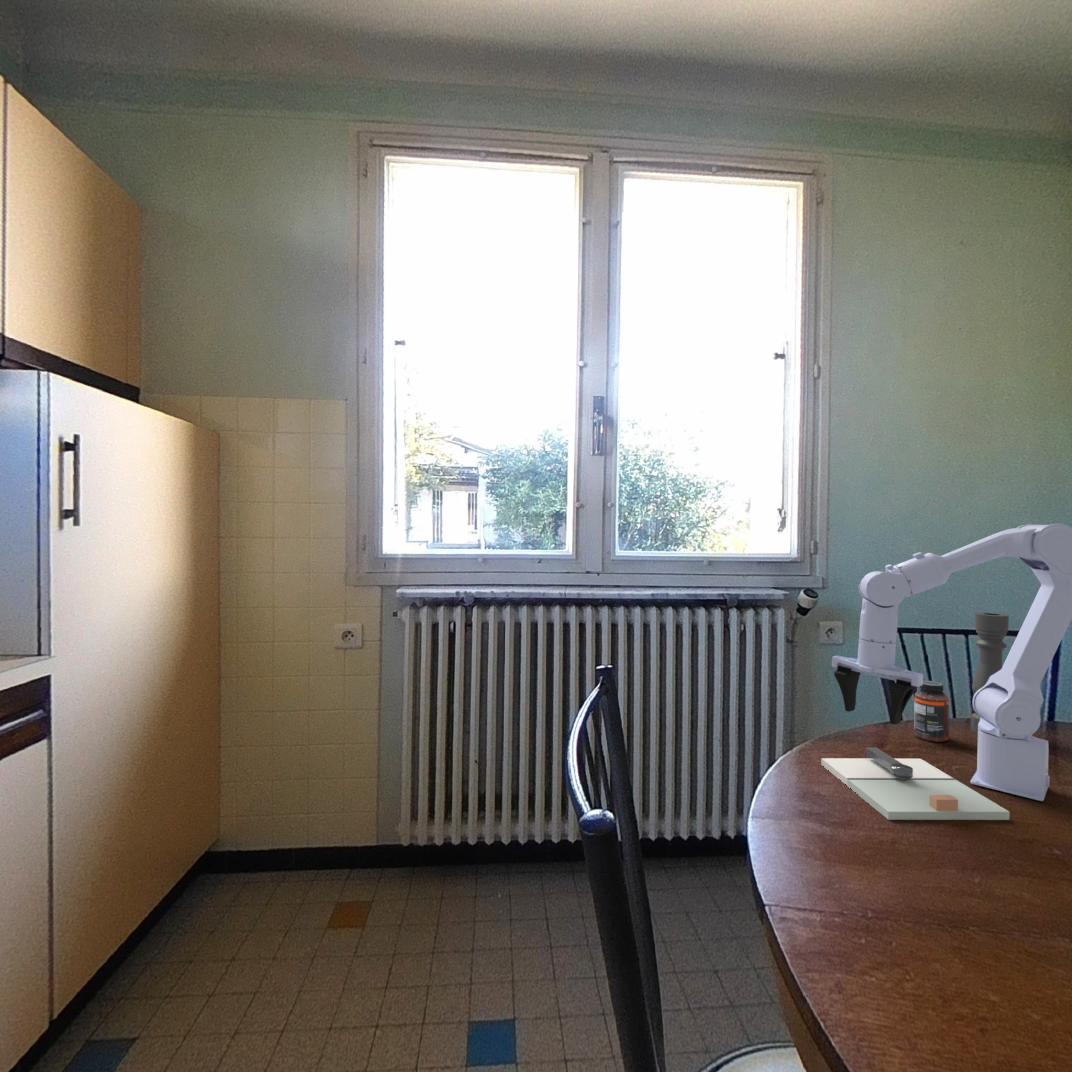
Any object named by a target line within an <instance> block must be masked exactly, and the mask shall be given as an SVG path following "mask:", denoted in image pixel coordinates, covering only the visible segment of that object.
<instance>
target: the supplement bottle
mask: <svg viewBox="0 0 1072 1072" xmlns="http://www.w3.org/2000/svg"><path fill="white" fill-rule="evenodd" d="M913 706H914V707H913V708H914V710H913V711H914V713H913V714H914V718H913V719H914V720H913V721H914V723H913V724H914V726H913V727H914V728H913V729H914V735H915V736H916V737H918V738H919V739H922V740H924V741H930V742H934V743H937V742H938V743H941V742H942V743H943V742H946V741H948V740H949V736H950V725H949V724H950V720H949V719H950V700H949V697H948V695H947V694H945V692H944V684H943V683H941V682H938V681H934V680H923V685H922V686H919V690H918V691H917V690H916V691H915V692H914V704H913Z"/></svg>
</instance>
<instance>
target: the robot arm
mask: <svg viewBox="0 0 1072 1072" xmlns="http://www.w3.org/2000/svg"><path fill="white" fill-rule="evenodd" d="M912 557H913V558H911V559H908V560H906V561H903V562H899V563H897V564H894V565H892V564H887V565H885V566H884V569H885V570H884V571H878V570H876V571H871V572H868V573H867V574H865V575H864V577H863V578H862V579H861V581H860V584H858V586H857V588H858V592H859V595H860V597H862V604H861V612H860V617H859V630H858V631H859V633H858V647H857V658H855V657H854V658H853V657H848V656H847V657H846V656H841V655H834V656H832V657H831V667H832V668H835V669H836V670H835V671H834V672H833V674H834V678H835V679H836V681H837V683H838V686H839V689H840V691H841V695H842V699H843V703H844V710H845V711H846V712H849V713H850V712H853V711H855V709H856V705H857V704H856V702H857V701H856V700H857V689H858V684H859V679H860V676H861V674H865V675H868V676H874V677H878V678H881V679H887V680H890V681H895V682H892V683H889V691H890V704H891V705H890V715H889V724H890V725H894V726H895V725H898V724H900V723H901V719H902V715H903V713H904V710H905V709H906V706H907V704H908V702H909V701H910V700H911V698H912V696H913V695H914V694H915V693H916V692H917V689H918V687H920V686H922V685H923V681H924V673H919V672H915V671H912V670H909V669H905V668H901V667H898V666H895V664H896V663H895V662H896V647H897V635H898V621H899V616H898V613H899V605H900V603H902V602H903V601H904V599H905V597H907V598H909V597H911V596H914V595H916V594H919V593H922V592H926V591H928V590H930V589H933V588H937V587H939V586H942V585H944V584H946V583H947V581H948V580H949V577H950V575H951V574H952V573H955V572H958V571H962V570H965V569H968V568H971V567H975V566H977V565H980V564H983V563H986V562H990V561H993V560H995V559H999V558H1002V557H1007V558H1008V557H1009V558H1010V557H1011V558H1017V559H1018V560H1019V561H1021V562H1022V563H1024V564H1025V565H1026V566H1028V567H1029V568H1030V569H1031V571H1032V572H1033V574H1034V575H1035V577H1036V578H1037V580H1038V582H1039V583H1040V587H1039V590H1038V592H1037V593H1036V596H1035V597H1034V600H1033V602H1032V603H1031V606H1030V608H1029V611H1028V612H1027V615H1026V617H1025V619H1024V621H1023V623H1022V625H1021V627H1020V629H1019V631H1018V634H1017V636H1016V637H1015V639H1014V642H1013V644H1012V646H1011V648H1010V650H1009V653H1008V654H1007V657H1006V659H1005V661H1004V663H1003V664H1002V669H1001V670H1000V671H998V672H996V673H995V674H993V675H992V676H990V677H989V680H988V682H987V683H986V684H985V685H984V686H983V687H982V688H980V689H979V690H978V691H977V692H976V693H974V694H973V697H972V700H971V701H972V709H973V708H974V710H975V712H976V713H977V714H978V715H979V716H980V721H979V723H978V734H977V751H976V752H977V754H976V755H977V760H976V771H975V772H974V774H973V776H972V778H971V779H970V784H971V785H975V786H979V787H984V788H986V789H991V790H996V791H998V792H999V791H1000V792H1003V793H1007V794H1011V795H1016V796H1019V797H1023V798H1028V799H1031V800H1035V801H1040V802H1044V800H1045V797H1046V795H1047V792H1048V788H1049V787H1050V781H1051V780H1050V779H1051V777H1050V775H1049V754H1050V753H1049V749H1050V748H1049V740H1046V739H1043V738H1038V737H1036V736H1034V735H1033V734H1035V733H1036V732H1037V731H1038V730H1039V728H1040V726H1041V720H1042V718H1041V708H1042V705H1043V703H1044V697H1043V693H1042V689H1041V683H1042V681H1043V679H1044V677H1045V675H1046V673H1047V671H1048V669H1049V666H1050V664H1051V663H1052V660H1053V659H1054V656H1055V654H1056V652H1057V650H1058V648H1059V645H1060V644H1061V641H1062V640H1063V638H1064V636H1065V634H1066V631H1067V629H1068V627H1069V625H1070V623H1071V621H1072V527H1071V526H1070V525H1067V524H1063V523H1051V524H1035V523H1026V524H1022V525H1019V526H1018V527H1016V528H1014V527H1013V528H1009V529H1004V530H1001V531H999V532H996V533H993V534H990V535H989V536H986V537H984V538H981V539H979V540H976V541H974V542H972V543H969V544H967V545H965V546H962V547H959V548H956V549H954V550H952V551H949V552H948V553H945V554H942V555H939V554H936V553H932V552H927V553H925V554H924V553H923V552H919V551H918V552H916V553H913V554H912ZM974 710H973V711H974ZM975 712H974V713H975Z"/></svg>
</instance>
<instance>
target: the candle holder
mask: <svg viewBox="0 0 1072 1072" xmlns="http://www.w3.org/2000/svg"><path fill="white" fill-rule="evenodd" d="M1009 618H1010V616H1009V615H1008V614H1006V613H997V612H988V611H987V612H986V611H985V612H982V611H979V612H974V629H975V630H976V631H975V632H976V634H977V636H978V638H979V639H977V640H976V641H975V645H976V646H977V647H978V648H979V653H978V654H979V656H978V659H979V660H978V666H977V669H976V671H975V673H974V674H975V675H974V678H973V681H972V684H971V688H972V692H973V693H974V694H975V693H976V692H977V691H978V690H979V689H980V688H982V687H983V686H984V685H985V684H986V683H987V682H988V680H989V677H990V676H992V675H993V674H995V673H996V672H998V671H1000V670H1001V669H1002V667H1003V651H1004V650H1005V649H1007V646H1008V644H1007V643H1005V642H1004V641H1003V640H1004V639H1005V637H1006V636H1007V633H1008V632H1009V630H1010V627H1009V626H1010V625H1009V622H1010V621H1009V620H1010V619H1009ZM972 711H973V713H971V717H970V719H971V720H970V721H971V723H970V731H971V732H972V733H974V734H975V735H978V723H979V721H980V716H979V715H978V714H977V713H976V712H975V710H974V708H973V707H972Z"/></svg>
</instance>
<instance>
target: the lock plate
mask: <svg viewBox="0 0 1072 1072" xmlns="http://www.w3.org/2000/svg"><path fill="white" fill-rule="evenodd" d="M893 758H894V757H893ZM894 759H896V760H897V761H899V762H900V763H902V764H904V765H907V766H910V767H912V768H913V777H912V778H900V777H897V776H894V775H892V774H891V773H890V770H888V769H887V768H885V767H884V766H882V765H881V764H880V763H878V762H877V761H875V760H874V759H872V758H871V757H869V758H868V757H867V758H862V757H861V758H860V757H859V758H856V757H855V758H853V757H852V758H849V757H848V758H847V757H844V758H843V757H841V758H840V757H839V758H838V757H837V758H834V757H830V758H829V757H828V758H826V757H823V758H821V759H820V760H821V762H820V763H821V764H820V765H821V766H822V767H823V766H824V767H823V768H824V769H826V770H827V771H828V770H829V771H828V772H830V773H831V774H832V775H833V776H834V777H836V778H837V779H838V780H839V779H840V780H841V781H840V780H839V781H840V782H842V783H843V784H844V785H845V784H846V785H847V787H848V788H849V789H850V788H851V789H852V792H853V793H855V792H856V793H855V794H856V795H857V794H858V795H857V796H859V797H860V798H861V799H862V800H864V801H865V802H866V803H867V804H868V803H869V804H868V805H870V806H871V807H872V808H873V809H875V810H876V811H877V812H878V813H880V815H882V816H883V817H884V818H886V819H887V820H889V821H895V820H896V821H897V820H898V821H899V820H902V821H903V820H904V821H911V820H914V821H917V820H918V821H925V820H926V821H935V820H936V821H942V820H943V821H948V820H949V821H952V820H953V821H960V820H961V821H964V820H965V821H966V820H967V821H1010V818H1011V817H1010V811H1009V810H1008V809H1006V808H1004V807H1002V806H1000V805H999V804H997V803H996V802H994V801H992V800H991V799H990V798H988V797H985V796H984V795H982V794H980V793H979V792H977V791H976V790H974V789H972V788H970V787H969V786H967V785H966V784H964V783H962V782H960V781H959V780H957V779H956V778H954V777H952V776H951V775H949V774H947V773H945V772H944V771H942V770H940V769H938V768H937V767H935V766H934V765H932V764H930V763H929V762H927V761H926V760H923V759H922V758H896V757H895V758H894ZM846 785H845V786H846ZM851 789H850V790H851Z"/></svg>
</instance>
